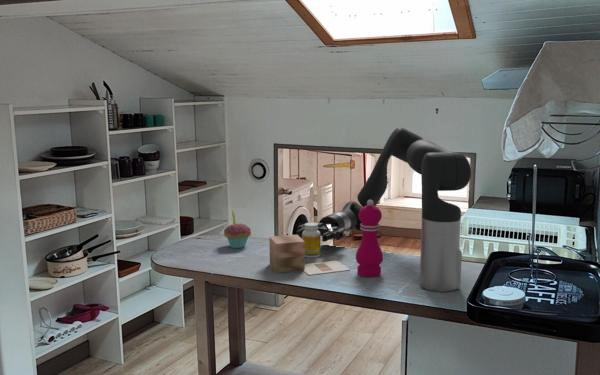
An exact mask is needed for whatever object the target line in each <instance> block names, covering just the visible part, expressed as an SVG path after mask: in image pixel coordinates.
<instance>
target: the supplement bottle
mask: <svg viewBox="0 0 600 375" xmlns="http://www.w3.org/2000/svg"><path fill="white" fill-rule="evenodd" d="M317 223H318V222H306V223H304V224H305V227H304V228H305V230H304V231H303V233H302V237H301V239H302V240H304V241H305V258H307V259H308V258H309V259H310V258H311V259H312V258H313V259H315V258H319V257H320V256H321V236H320V232H319V231H318V230H317V229H318V224H317Z"/></svg>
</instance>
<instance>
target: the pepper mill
mask: <svg viewBox="0 0 600 375" xmlns="http://www.w3.org/2000/svg"><path fill="white" fill-rule="evenodd" d="M373 204H374V202H373V201H372V200H368V201H367V206H364V207H362V206H361V207H362V208H361V209H360V211H359V219H360V221H361V222H362V223H361V224H360V225H361V227H360V229H361V230H360V231H361V241H360V244H359V246H358V248H357V249H356V250H357V251H356V253H355V261H356V263H357V264H358V266H357V274H358V275H359V276H361V277H365V278H374V277H375V278H377V277H379V276H381V274H382V267H381V266H380V265H381V264H382V263H383V261H384V255H383V251H382V248H381V245H380V243H379V239H378V231H379V230H380V224H379V222H380V221H381V220H382V216H383V215H382V211H381V209H380V208H379V207H378V206H377V205H376V206H373Z"/></svg>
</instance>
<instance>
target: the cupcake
mask: <svg viewBox="0 0 600 375" xmlns="http://www.w3.org/2000/svg"><path fill="white" fill-rule="evenodd" d="M231 215H232V216H231V217H232V224H230V225H228V226H226V227H225V228H224V230H223V236H224V237H225V238H226V239H227V240H228V241H227V242H228V244H229V246H230V248H233V249H241V248H245V247H246V244H247V243H248V242H247V241H248V239H249V237H251V235H252V231H251V228H250V226H247V225H246V224H243V223H236V217H235V216H236V215H235V212H234V210H233V209H232V212H231ZM244 246H245V247H244Z"/></svg>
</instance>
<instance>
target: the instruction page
mask: <svg viewBox="0 0 600 375" xmlns="http://www.w3.org/2000/svg"><path fill="white" fill-rule="evenodd" d="M302 271H303V272H304V273H305V274H307V275H308V276H316V275H322V274H330V273H331V274H332V273H338V272H345V271H351V269H350V268H348V267H347V266H346V265H344V264H343V263H341V262H340V261H338V260H329V261H328V260H327V261H321V262H320V261H319V262H313V263H305V269H304V270H302Z"/></svg>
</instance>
